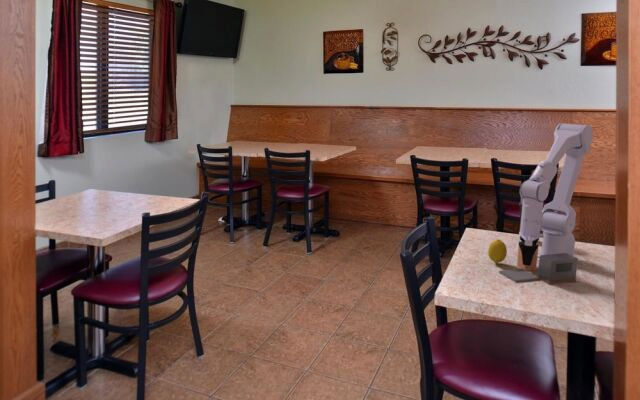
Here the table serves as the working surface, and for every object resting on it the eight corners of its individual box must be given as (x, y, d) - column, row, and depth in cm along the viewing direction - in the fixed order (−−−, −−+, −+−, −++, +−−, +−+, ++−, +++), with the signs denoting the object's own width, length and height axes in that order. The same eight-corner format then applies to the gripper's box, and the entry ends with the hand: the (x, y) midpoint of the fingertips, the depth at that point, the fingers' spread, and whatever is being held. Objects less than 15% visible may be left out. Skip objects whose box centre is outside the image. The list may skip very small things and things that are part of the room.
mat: (522, 270, 157) (522, 268, 157) (539, 279, 150) (539, 277, 150) (499, 272, 155) (499, 270, 155) (515, 282, 148) (515, 280, 148)
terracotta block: (527, 265, 162) (529, 243, 161) (536, 269, 158) (538, 247, 157) (516, 266, 161) (518, 244, 160) (524, 270, 157) (527, 248, 156)
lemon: (506, 267, 160) (509, 242, 158) (488, 265, 161) (490, 241, 159) (504, 261, 165) (506, 237, 164) (486, 260, 166) (488, 236, 165)
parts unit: (562, 274, 154) (565, 252, 152) (576, 281, 149) (579, 258, 147) (536, 277, 152) (538, 254, 150) (549, 284, 146) (551, 261, 145)
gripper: (545, 226, 148) (540, 271, 151) (545, 215, 161) (541, 256, 164) (519, 224, 151) (515, 267, 154) (521, 213, 164) (517, 253, 167)
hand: (527, 261), depth 159 cm, fingers open, 6 cm apart
